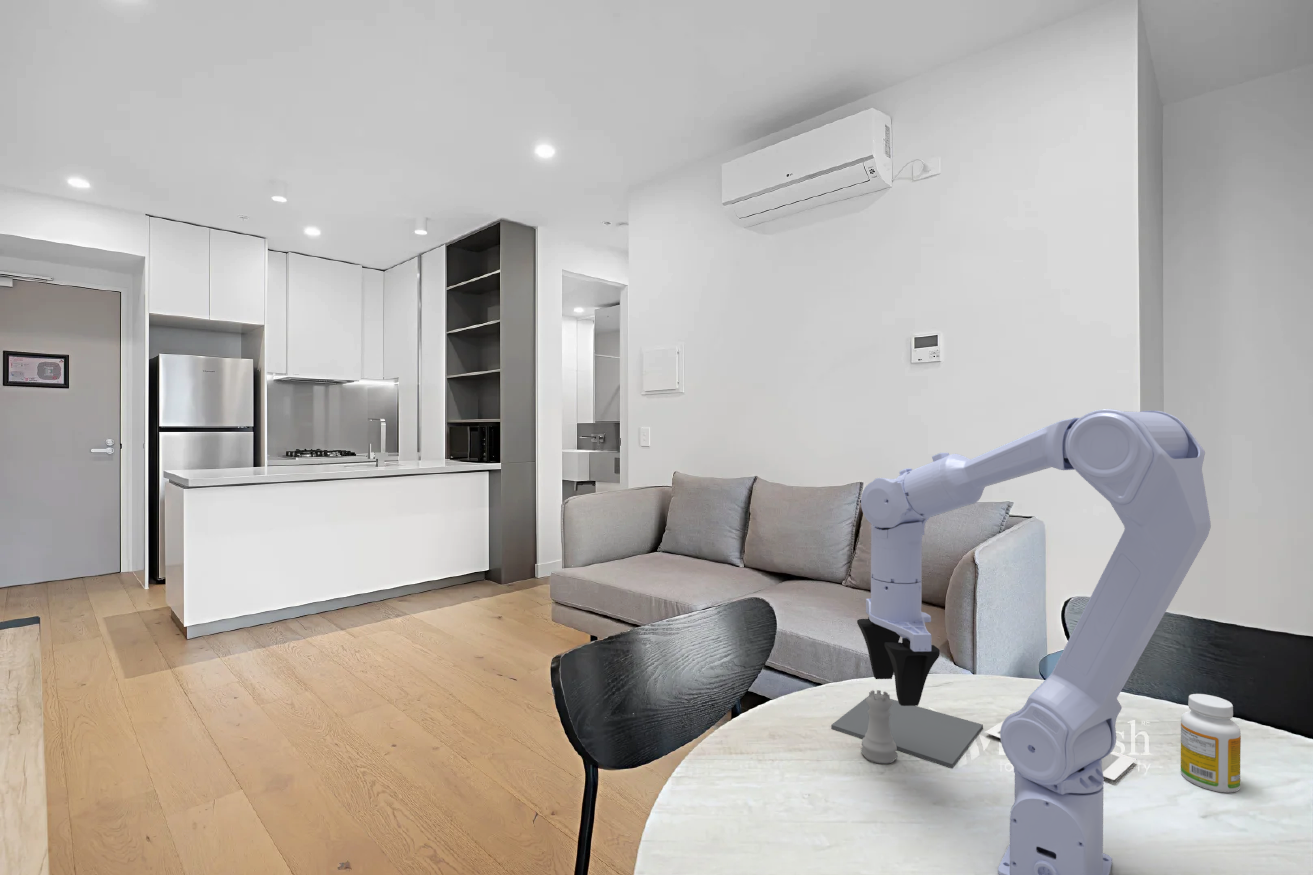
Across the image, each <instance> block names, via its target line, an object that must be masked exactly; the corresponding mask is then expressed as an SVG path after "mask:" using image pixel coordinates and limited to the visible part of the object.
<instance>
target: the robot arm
mask: <svg viewBox="0 0 1313 875" xmlns="http://www.w3.org/2000/svg"><path fill="white" fill-rule="evenodd" d="M1205 455H1206V452H1205V449H1204V448H1203V447H1202V446H1201V444H1200V443H1199V441H1198V440H1197V438H1196V437H1195V436H1194V434H1193V433H1192V431H1191V430H1190V428H1188V426H1186V424H1185V423H1184V422H1183V421H1182V420H1180V419H1179V417H1177V416H1176V415H1173V414H1171V413H1168V412H1165V411H1161V410H1141V411H1125V410H1124V411H1123V410H1119V409H1114V408H1104V409H1103V408H1102V409H1096V410H1093V411H1090V412H1087V413H1085V414H1084V415H1082V416H1081V417H1071V418H1066V419H1062V420H1059V421H1056V422H1054V423H1051V424H1049V425H1046V426H1045V427H1042V428H1040V429H1038V430H1035V431H1033V432H1030V433H1028V434H1026V435H1023V436H1022V437H1019V438H1017V439H1015V440H1012V441H1010V442H1008V443H1005V444H1003V445H1001V446H999V447H996V448H994V449H990V450H989V451H987V452H985V453H982V454H980V455H977V456H975V457H973V458H969V457H967V456H965V455H962V454H959V453H952V454H951V453H949V452H939V453H937V454H934V455H932V456H931V459H932V462H929V463H926V464H924V465H921V466H919V467H917V468H914V469H913V468H910V467H907V468H903V469H901V470H899V472H898V473H899V475H898V476H897V477H896V478H887V477H877V478H874V479H873V480H872V481H871V482H869V483H868V484H867V485H866V486H865V487H864V489H863V490H862V493H861V498H860V506H861V510H862V513H863V517H864V518H865V519H866V520H867V522H869V523H870V526H871V527H870V531H871V532H870V598H865V614H867V615H868V617H867V618H859V619H857V623H856V624H857V626H858V627H859V629H860V631H861V633H862V635H863V640H864V641H865V645H866V648H867V653H868V657H869V661H870V665H871V666H870V667H871V671H872V675H873V678H874V679H875V680H892V679H893V677H894V683H895V693H896V697H897V701H898V702H899V704H900V705H901V706H918V707H919V704H920V701H921V699H922V695H923V692H924V688H925V685H926V684H925V683H926V681H927V678H928V675H929V674H930V671H931V669H932V667H933V666H934V664H935V663H936V661H937V660H938V659H939V658H940V655H941V654H940V653H941V651H940V649H939V647H937V646H935V645H934V644H932V633H930V632H929V631H928V629H927V626H926V623H931V622H932V616H931V615H930V614H928V613H927V612H923V611H922V602H923V601H922V595H923V593H922V592H923V591H922V590H923V586H922V585H923V584H922V583H923V581H922V580H923V579H922V578H923V576H922V572H923V571H922V568H923V567H922V566H923V564H922V563H923V558H922V557H923V556H922V554H923V551H922V550H923V549H922V548H923V536H925V528H926V527H925V526H926V523H927V522H928V520H929V519H930V518H933V517H936V516H939V515H942V514H945V513H948V512H952V511H955V510H958V509H961V508H964V507H965V508H966V507H967V506H970V505H974V504H976V503H977V502H979V500H980V499H981V497H982V495H983V493H984V490H985V488H986V487H989V486H992V485H993V486H994V485H997V484H1001V483H1003V482H1006V481H1010V480H1014V479H1015V478H1016V479H1017V478H1019V477H1023V476H1026V475H1030V474H1033V473H1036V472H1040V471H1044V470H1047V469H1050V468H1053V469H1057V470H1059V471H1071V470H1072V471H1073V470H1074V471H1075V472H1077V473H1078V475H1080V476H1081V478H1083V480H1084V481H1086V482H1087V483H1088V484H1089V485H1090V486H1091V487H1093V488H1094V490H1096V491H1097V492H1098V493H1099V494H1100V495H1102V497H1104V498H1105V499H1106V500H1107V501H1108V502H1109V503H1110V505H1111V507H1112V508H1113V510H1114V512H1115V514H1116V515H1117V516H1118V518H1119V520H1120V522H1121V523H1122V525H1123V528H1124V530H1123V533H1122V534H1121V536H1120V539H1119V541H1118V542H1117V544H1116V547H1115V548H1114V550H1113V551H1112V554H1111V556H1110V558H1109V560H1108V562H1107V564H1106V566H1105V568H1104V569H1103V572H1102V574H1101V576H1100V578H1099V580H1098V582H1097V584H1096V585H1095V588H1094V589H1093V591H1092V593H1091V595H1090V597H1089V600H1088V601H1087V603H1086V605H1085V607H1084V609H1083V610H1082V613H1081V615H1080V617H1079V619H1078V621H1077V622H1076V625H1075V626H1074V629H1073V631H1072V633H1071V634H1070V636H1069V638H1068V640H1067V643H1066V645H1065V646H1064V649H1063V650H1062V652H1061V655H1060V656H1059V658H1058V660H1057V661H1056V664H1055V666H1054V669H1053V670H1052V672H1051V673H1050V675H1049V676H1047V678H1046V679H1044V681H1043V682H1042V683H1040V685H1039V686H1037V688H1036V689H1035V690H1034V691H1033V692H1032V693H1030V695H1029V696H1028V698H1027V699H1026V701H1025V704H1024V705H1023V707H1022V708H1021V709H1018V711H1014V712H1013V713H1010V714H1009V715H1008V716H1007V717H1005V719H1004V720H1003V721H1004V722H1003V724H1002V726H1001V730H1000V738H999V739H1000V743H1001V747H1002V749H1003V752H1004V754H1005V756H1006V758H1007V759H1008V761H1009V762H1010V764H1011V765H1012V767H1013V773H1014V802H1013V805H1012V807H1011V810H1010V814H1009V843H1008V846H1007V848H1006V850H1005V853H1004V855H1003V857H1002V859H1001V860H1000V863H999V865H998V867H997V874H998V875H1111V870H1112V866H1113V858H1112V856H1110V855H1109V854H1107V853H1104V784H1105V783H1104V782H1105V781H1104V780H1105V779H1104V778H1105V777H1104V776H1103V772H1102V759H1103V758H1104V757H1106V756H1108V755H1109V754H1110V753H1111V752H1112V751H1114V749H1115V747H1116V744H1117V730H1116V724H1117V718H1118V717H1119V714H1120V713H1121V710H1122V707H1123V706H1122V704H1121V703H1120V701H1119V700H1118V697H1119V695H1120V693H1121V692H1122V690H1123V688H1124V686H1125V685H1126V683H1127V682H1128V680H1129V679H1130V676H1131V674H1132V672H1133V671H1134V669H1135V667H1136V665H1137V664H1138V662H1139V660H1140V659H1141V656H1142V655H1143V652H1144V651H1145V649H1146V647H1147V646H1148V644H1149V642H1150V640H1151V638H1152V637H1153V635H1154V633H1155V632H1156V629H1157V628H1158V625H1160V622H1161V621H1162V619H1163V617H1164V615H1165V613H1166V612H1167V610H1168V609H1169V606H1170V604H1171V603H1172V601H1173V599H1174V598H1175V596H1176V594H1177V592H1178V590H1179V588H1180V587H1181V585H1182V583H1183V582H1184V579H1185V578H1186V577H1187V574H1188V572H1189V571H1190V569H1191V568H1192V565H1193V564H1194V561H1195V559H1196V558H1197V556H1198V554H1199V553H1200V552H1201V551H1200V550H1202V547H1203V545H1204V544H1205V543H1206V540H1207V538H1208V536H1209V534H1210V530H1211V526H1212V525H1211V518H1210V517H1211V516H1210V511H1209V506H1208V505H1209V504H1208V498H1207V493H1206V486H1205V481H1204V473H1203V464H1204V460H1205ZM900 639H901V641H900Z"/></svg>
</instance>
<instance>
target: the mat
mask: <svg viewBox="0 0 1313 875" xmlns="http://www.w3.org/2000/svg"><path fill="white" fill-rule="evenodd" d="M866 699H867V697H865V698H864V699H863V700H861V701H860V702H859V703H857V704H856V705H854V707H853V708H851V709H850V710H849V711H847V712H846V713H845V714H843V715H842V716H841V717H839V718H838V719H837V720H835V721H834V722H833V723H832V724H831V726H830V727H831V728H830V729H832V730H834V731H837V732H840V733H844V734H847V735H850V736H853V737H855V738H856V737H857V738H859V739H863V738H864V737H865V734H866V733H867V730H868V725H869V714H868V710H869V709H870V706H869V705H868V703H867V702H866ZM890 699H891V701H892V702H893V705H892V706H891V707H890V708H889V712H890V714H891V716H890V717H889V726H890V732H891V736H892V737H893V741H894V742H895V743H896V746H897V750H896V751H899V752H902V753H905V754H908V755H911V756H914V757H917V758H920V759H923V760H926V761H929V762H932V763H936V764H938V765H942V766H944V767H947V768H951V769H953V768H954V767H955V765H956V764H957V762H959V760H960V759H961V757H963V755H964V754H965V753H966V751H967V750H968V748H969V747H970V745H971V744H972V743H973V742H974V741H975V739H976V738H977V737H978V735H979V734H980V733H981V731H982V730H983V729H984V724H982V723H979V722H975V721H971V720H968V719H964V718H960V717H958V716H954V715H949V714H946V713H942V712H939V711H936V710H932V709H928V708H925V707H921V706H919V705H918V706H901V705H900V704H899V702H898V700H895V699H892V698H890Z"/></svg>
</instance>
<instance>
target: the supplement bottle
mask: <svg viewBox="0 0 1313 875" xmlns="http://www.w3.org/2000/svg"><path fill="white" fill-rule="evenodd" d="M1187 704H1188V705H1187V706H1188V709H1189V710H1188V711H1185V712H1184V713H1182V715H1181V716H1180V774H1181V775H1182V777H1183V778H1184V779H1186V780H1187V781H1188V782H1190V783H1192V784H1193V785H1195V786H1198V787H1200V788H1202V789H1205V790H1209V791H1212V792H1218V793H1229V794H1230V793H1236V792H1237V791H1239V790H1240V788H1241V747H1242V746H1241V742H1242V740H1241V739H1242V736H1241V728H1240V727H1239V725H1238V724H1237V723H1236V722H1235V721H1234V720H1232V718H1233V716H1234V706H1233V704H1232V702H1230V701H1229V700H1227V699H1224V698H1221V697H1219V696H1216V695H1210V694H1205V693H1193V694H1189V695H1188V702H1187Z"/></svg>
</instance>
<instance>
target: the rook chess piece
mask: <svg viewBox="0 0 1313 875" xmlns="http://www.w3.org/2000/svg"><path fill="white" fill-rule="evenodd" d="M890 696H891V695H890V694H889V693H888V692H887V691H883V694H882V691H881V690H878V689H876V693H875V690H870V692H868V695H867V697H866V698H867V699H866V702H867V703H868V705H869V706H870V709H869V710H868V714H869V725H868V730H867V733H866V734H865V737H864V738H863V739H862V738H861V739H862V740H861V746H862V747H860V752H861V754H862V755H863V756H864V758H865V759H866V760H868V761H870V762H873V763H875V764H882V765H885V764H891V763H893V762H894V761H895V760H897V758H898V753H897V752H896V751H898V750H897V746H896V743H895V742H894V741H893V737H892V736H891V732H890V726H889V717H890V716H891V714H890V712H889V708H890V707H891V706H892V705H893V702H892V701H891V699H892V698H890Z"/></svg>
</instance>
